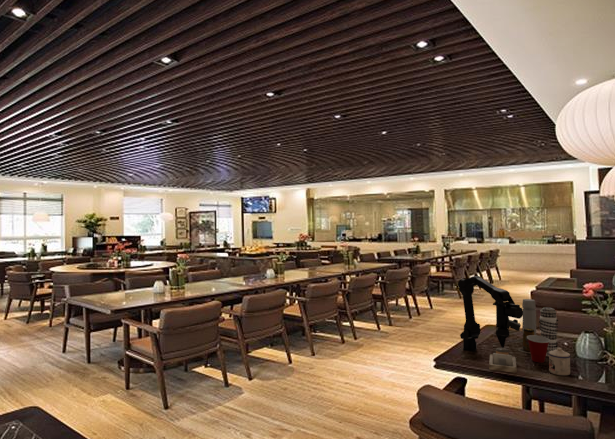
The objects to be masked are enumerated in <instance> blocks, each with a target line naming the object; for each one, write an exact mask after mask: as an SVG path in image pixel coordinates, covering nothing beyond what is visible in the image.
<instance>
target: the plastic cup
mask: <svg viewBox="0 0 615 439" xmlns="http://www.w3.org/2000/svg"><path fill="white" fill-rule="evenodd" d="M527 339H528V343H529V348H530V353H529V354H530V357H531V360H532V362H534V363H540V364H541V363H542V364H543V363H545V361H546V358H547V356H546V353H547V347H548V344H549V342H550V339H548V338H546V337H543V336H541V335H537V334H536V335H529V336H527Z"/></svg>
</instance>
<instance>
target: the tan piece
mask: <svg viewBox="0 0 615 439" xmlns="http://www.w3.org/2000/svg"><path fill="white" fill-rule="evenodd" d="M488 363H489V364H488V367H489V370H490V371H499V372H507V373H514V374H515V373H516V374H517V369H518V368H517V360H516V356H512V366H509V365H506V366H503V365H499V364H494V360H493V353H492V354H491V353H490V354H489V362H488Z"/></svg>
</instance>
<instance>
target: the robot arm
mask: <svg viewBox="0 0 615 439" xmlns="http://www.w3.org/2000/svg"><path fill="white" fill-rule="evenodd" d="M475 286H477V287H479V288H480V289H482V290H484V291H485V292H486V293H488V294H489V295H490V296H491V298H492V299H493V301H494V302H493V303H492V305H493V306H496V308H495V312H496V313H495V318H496V319H495V320H496V322H495V335H496V338H497V340H498V343H499V345H500V348H505V344H506V341H507V340H506V339H507V338H509V337H510V330H509V329H513V330H515V331H517V332H520V331H519V329H520V328H522V323H521V322H519V321H518V320H521V319H522V318H523V311H522V309H523V308H522V307H521V305H520V304H516V303H515V300H513V298H512V296H511V294H510V291H508V290H506V289H503V288H500V287H497V286H495V285H493V284H492V283H490V282H488V281H487V280H485V279H484V278H482V276H479V275H472V276H471V277H469V278H464V279H459V280H458V281H457V287H458V290H459V293H460V294H461V295H462V301H463V308H464V310H463V311H464V316H465V322H464V325H463V331H462V332H461V333H460V334H459V337H460V339H461V340H463V341H462V342H463V345H462V346H463V348H462V350H463V351H467V352H469V351H470V352H476V351H477V349H478V348H477V346H478V345H477V339H479V337H480V335H481V331H482V330H481V325H480V323H478V322H477V321H476V316H475V308H474V301H473V300H474V299H473V293H474V290H475ZM521 308H522V309H521ZM510 318H514V319H513V320H512V319H510ZM520 318H521V319H520ZM520 330H521V329H520Z"/></svg>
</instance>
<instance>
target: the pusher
mask: <svg viewBox="0 0 615 439" xmlns="http://www.w3.org/2000/svg"><path fill="white" fill-rule="evenodd" d="M492 355H493V364H494V365H503V366H512V357H513V356H512V354H509V355H505V354H496V352H493V353H492ZM512 367H513V366H512Z"/></svg>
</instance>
